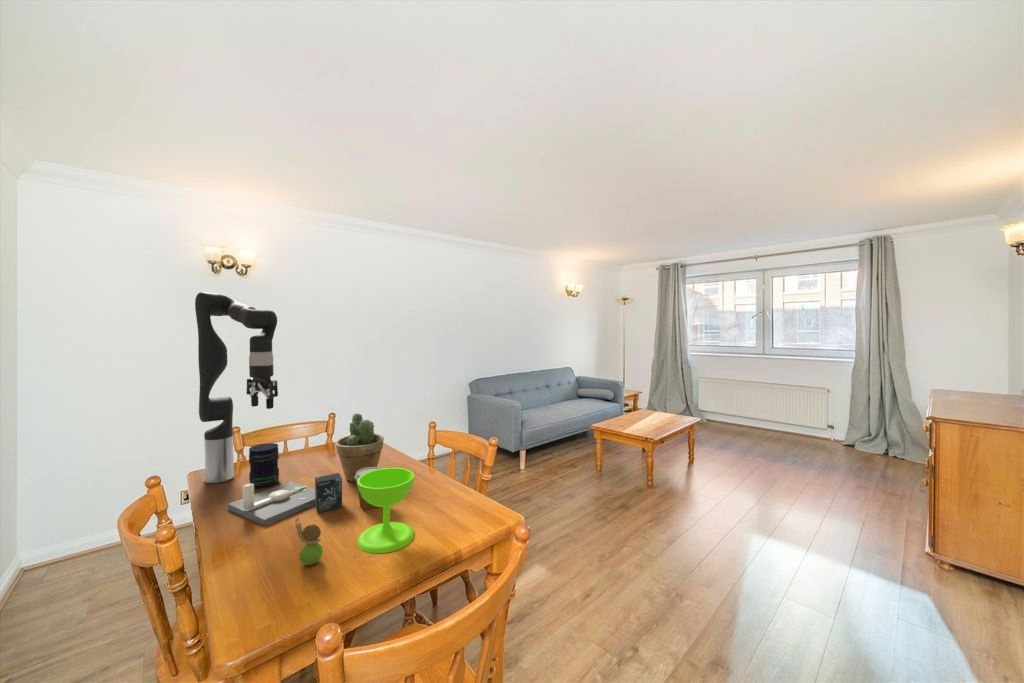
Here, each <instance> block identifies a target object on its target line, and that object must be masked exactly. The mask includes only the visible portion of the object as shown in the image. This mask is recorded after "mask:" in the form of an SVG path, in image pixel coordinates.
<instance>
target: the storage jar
mask: <svg viewBox="0 0 1024 683" xmlns="http://www.w3.org/2000/svg"><path fill="white" fill-rule="evenodd" d="M248 452H249V453H248V464H249V471H250V472H249V474H248V476H249V478H248V481H249V484H250V483H252V484H254V491H255V490H256V491H257V490H267V489H271V488H274V487H276V486H278V485H279V483H280V480H279V479H280V468H279V464H278V463H279V457H280V456H279V454H280V452H279V444H278V443H274V442H269V443H260V444H256V445H253V446H250V447H249V449H248Z"/></svg>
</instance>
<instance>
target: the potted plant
mask: <svg viewBox="0 0 1024 683" xmlns="http://www.w3.org/2000/svg"><path fill="white" fill-rule="evenodd" d="M374 428H375V425H374V422H373V421H371V420H369V419H363V415H362V414H360V413H354V414H353V415H352V417H351V422H350V423H349V433H350V434H349V435H346V436H343V437H341V438H339V439H338V440H336V442H335V450H336V453H337V454H338V457H339V461H340V465H341V468H342V471H343V474H344V477H345V479H346V481H348V480H349V481H348V482H352V481H354V482H353V483H357V481H356V479H355V475H356V472H357V471H358V470H360V469H363V468H367V467H378V465H379V462H380V459H381V458H380V457H381V454H382V450H383V448H384V439H385V438H384V436H383V435H381V434H378V433H375V429H374Z"/></svg>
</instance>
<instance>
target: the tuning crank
mask: <svg viewBox="0 0 1024 683" xmlns="http://www.w3.org/2000/svg"><path fill="white" fill-rule="evenodd" d="M306 487H308V486H307V485H304V486H303V487H301V488H298V489H295V490H293V491H290V492H289V491H288V490H278V491H275V492H272V493H271V494H269V498H266V499H264V500H261V501H258V502H256V503H254V494H255V490H254V484H252V483H250V482H249V483H246V484H244V485H242V499H243V508H244V510H245V511H250V510H252V509H255V508H257V507H260V506H262V505H265V504H268V503H270V502H275V501H282V500H285V499H287V498H288V497H289V494H290V493H293V492H296V491H298V490H301V489H303V488H306Z"/></svg>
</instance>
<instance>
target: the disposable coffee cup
mask: <svg viewBox="0 0 1024 683" xmlns="http://www.w3.org/2000/svg"><path fill="white" fill-rule="evenodd" d="M377 469H383V468H381V467H379V466H377V467H367V468H363V469H360V470H358V471H357V472H356V475H355V479H356V481H357V479H358V478H359V477H360V476H361V475H363V474H365V473H367V472H370V471H373V470H377ZM356 487H357V493H358V501H359V508H360V509H362V510H373V509H375V508H377V506H374V505H371V504H369V503H368V502H366V501H365V500H364V499H363V498H362V496H361V494H360V492H359V490H358V486H357V485H356Z"/></svg>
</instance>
